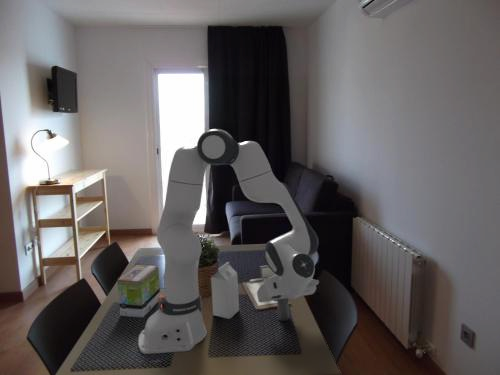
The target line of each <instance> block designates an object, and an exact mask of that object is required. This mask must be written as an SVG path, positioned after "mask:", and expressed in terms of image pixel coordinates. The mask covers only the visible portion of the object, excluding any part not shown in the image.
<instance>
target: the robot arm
mask: <svg viewBox="0 0 500 375" xmlns="http://www.w3.org/2000/svg"><path fill="white" fill-rule="evenodd" d="M210 165H212V166H223V165H224V166H226V165H230V167H232V168H233V170H234V174H236V178H237V181H238V183H239V186H240V189H241V191H242V193H243V195H244V196H245V197H246V198H247V199H248V200H250V201H252V202H255V203H260V204H261V203H266V204H270V203H271V204H273V203H274V204H278V205H280V206H281V208H282V209H283V211H284V212H285V214H286V216H287V218H288V220H289V222H290V224H291V226H292V230H290V231H288V232H286V233H283V234H281V235H279V236H277V237H275V238H273V239H271V240H269V241H267V242H266V245H264V246H265V247H264V260H265V263H266V265H268V266H269V268H270V269H271V270H272V271H273V272H274V273H275V274H277V275H275V276H272V277H269V278H266V279H264V283H263V284H262V285H261V286H260V287H259V289H258V291H257V296H258V300H259V302H267V301H274V302H276V301H278V300H279V299H285V298H289V300H293V299H297V298H299V297H301V296H302V297H303V296H308V295H309V296H310V295H313V294H315V292H316V290H317V285H318V284H319V283H320V281H319V279H314V278H313V277H314V275H315V271H316V269H315V268H316V267H315V262H314V259H313V258H312V257H311V256H313V255H315V254H316V252H317V250H318V248H319V244H320V242H319V241H320V240H319V237H318V235H317V232H316V231H315V230H314V229H313V228H312V225H311V224H310V223H309V221H308V220H307V218H306V216H305V215H304V212H303V210H302V209H301V207H300V205H299V202H298V201H297V199H296V197H295V196H294V194H293V192H292V190H291V189H290V188H289V186H288V185H287V184H286V183H284V182H281V181H279V180H278V179H277V177H276V176H275V174H274V173H273V170H272V168H271V164H270V163H269V160H268V158H267V156H266V154H265V152H264V150H263V149H262V147H261V145H260V144H259V143H258V142H257V141H254V140H253V141H252V140H246V141H243V142H237V140H235V139H234V138H233V136H232V135H231V134H230V133H229V132H228V131H226V130H224V129H220V128H212V129H208V130H206V131H204V132H203V133H202V134H201V135H200V137H199V138H198V140H197V142H196V146H182V147H179V148H178V149H176V150H175V152H174V155H173V157H172V160H171V163H170V168H169V173H168V179H167V186H166V194H165V203H164V206H163V210H162V213H161V216H160V221H159V224H158V228H157V230H156V240H157V243H158V245H159V246H160V248H161V249H162V252H163V255H164V274H163V285H164V286H163V287H164V295H163V294H160V296H159V297H158V302H157V303H159V309H157V311H155V312H154V313H152V314H151V315H150V316H149V317H148V318H147V320H146V322H145V326H144V329H142V331H140V334H139V335H138V340H137V341H138V343H137V344H138V345H137V346H138V349H139V351H140V352H141V353H142V354H144V355H149V354H165V353H178V352H179V353H180V352H189V351H191V350H192V349H194V347H195V345H197V344H199V343H201V342H202V341H203V340H204V339H205V338H206V336H207V333H208V332H207V329H206V328H207V327H206V326H205V323H204V320H203V319H204V318H203V315H202V307H203V306H202V297H201V293H200V289H199V274H198V273H199V263H200V257H201V256H202V251H203V250H202V248H203V247H202V243H201V240H200V238H199V236H198V235H197V233H196V232H195V231H194V230H193V225H194V221H195V217H196V215H197V213H198V211H199V210H200V209H201V202H202V196H203V189H204V181H205V175H206V171H207V169H208V167H209V166H210Z"/></svg>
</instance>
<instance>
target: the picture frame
mask: <svg viewBox="0 0 500 375" xmlns="http://www.w3.org/2000/svg"><path fill="white" fill-rule="evenodd" d="M275 275H277V274H275V273H274V272H273V271H272V270H271V269H270V268H269V266H268V264H266V265H259V278H269V277H272V276H275Z"/></svg>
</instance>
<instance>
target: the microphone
mask: <svg viewBox="0 0 500 375" xmlns="http://www.w3.org/2000/svg"><path fill="white" fill-rule="evenodd" d="M289 301H290V299H289V298H285V299H279V300H278V301H277V306H278V307H277V319H278V320H279V321H281V322H286V321H289V319H290V311H289V310H290V305H289Z"/></svg>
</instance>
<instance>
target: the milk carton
mask: <svg viewBox="0 0 500 375" xmlns="http://www.w3.org/2000/svg"><path fill="white" fill-rule="evenodd" d="M210 285H211V286H210V287H211V298H212V299H211V301H212V313H213V314H212V315H213V316H214V317H215V316H216V317H220V318H224V319H228V320H230V319H232V318H233V317H234V316H235V315H236V314H237V313H238V312H239V311H240V304H239V303H240V302H239V282H238V272H237V271H236V270H235V269H234V268H233V267H232V266H231V265H230V262H229V261H227V262H225V263H224V264H223V265H222V266H220V267H219V268H218V270H217V272H216V273H214V275H213V276H211V277H210Z"/></svg>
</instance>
